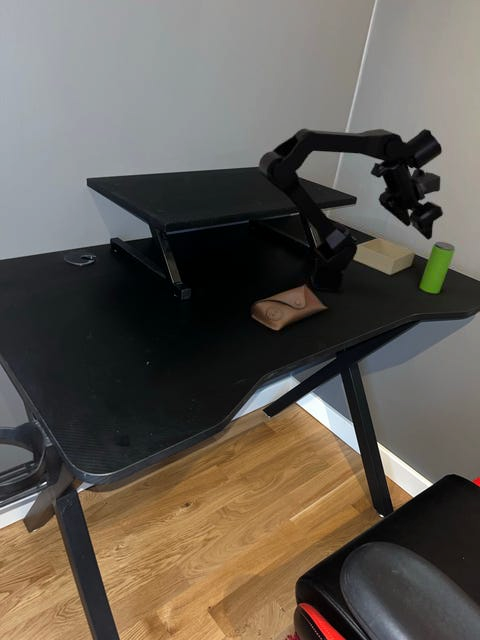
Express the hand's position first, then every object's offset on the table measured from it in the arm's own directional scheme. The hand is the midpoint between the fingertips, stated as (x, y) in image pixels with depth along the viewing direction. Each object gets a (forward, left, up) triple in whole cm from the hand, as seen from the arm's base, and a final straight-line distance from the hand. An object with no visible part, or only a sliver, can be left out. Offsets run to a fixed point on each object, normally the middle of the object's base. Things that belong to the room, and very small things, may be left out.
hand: (418, 231), depth 115 cm
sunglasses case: (-32, -22, -15) cm, 42 cm away
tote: (-2, +14, -15) cm, 20 cm away
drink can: (+7, -1, -15) cm, 16 cm away
